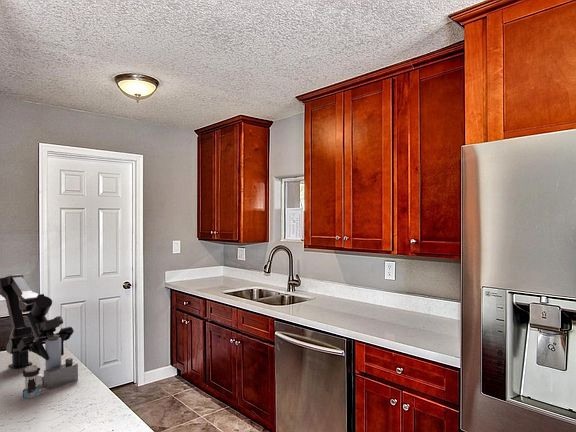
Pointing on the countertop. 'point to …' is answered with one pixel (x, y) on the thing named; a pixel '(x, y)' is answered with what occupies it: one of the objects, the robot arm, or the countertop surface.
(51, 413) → the countertop surface
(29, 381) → the push button
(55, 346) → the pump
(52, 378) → the motor block
